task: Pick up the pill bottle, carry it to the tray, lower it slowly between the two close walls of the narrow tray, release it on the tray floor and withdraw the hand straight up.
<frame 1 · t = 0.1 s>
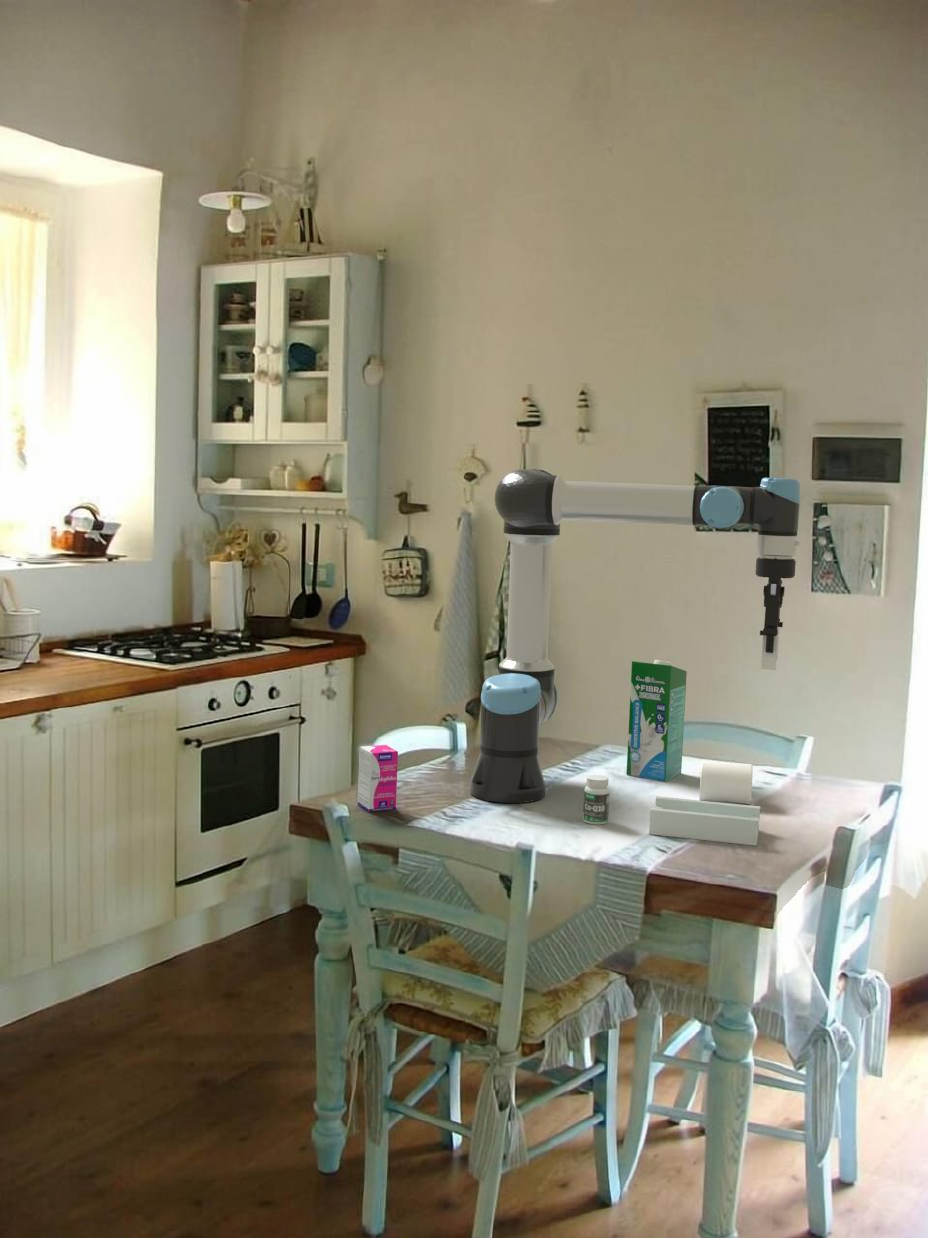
hand: (769, 664, 245), 28 cm above the table, fingers open, 13 cm apart
supplement box: (376, 808, 235), on the table
pill bottle: (595, 822, 230), on the table
mug: (724, 800, 250), on the table
milk carton: (653, 775, 268), on the table
tray: (704, 832, 226), on the table
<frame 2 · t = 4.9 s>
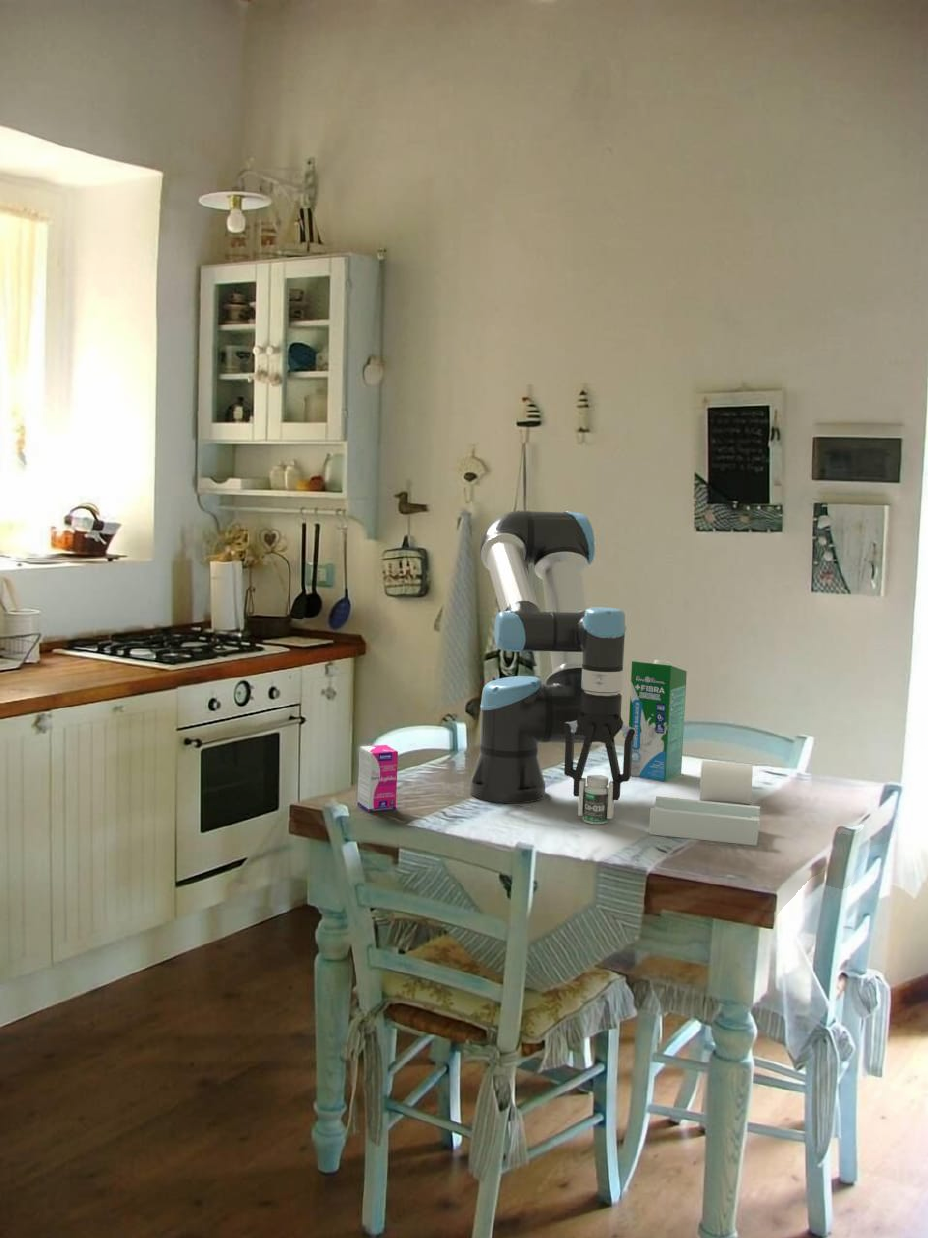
hand: (595, 814, 230), 1 cm above the table, fingers closed on pill bottle, 5 cm apart
pill bottle: (595, 822, 230), on the table, touching gripper
everything else where it was.
when the fingers open (4 cm above the table, at t = 9.4 s): pill bottle drops 2 cm, resting on tray.
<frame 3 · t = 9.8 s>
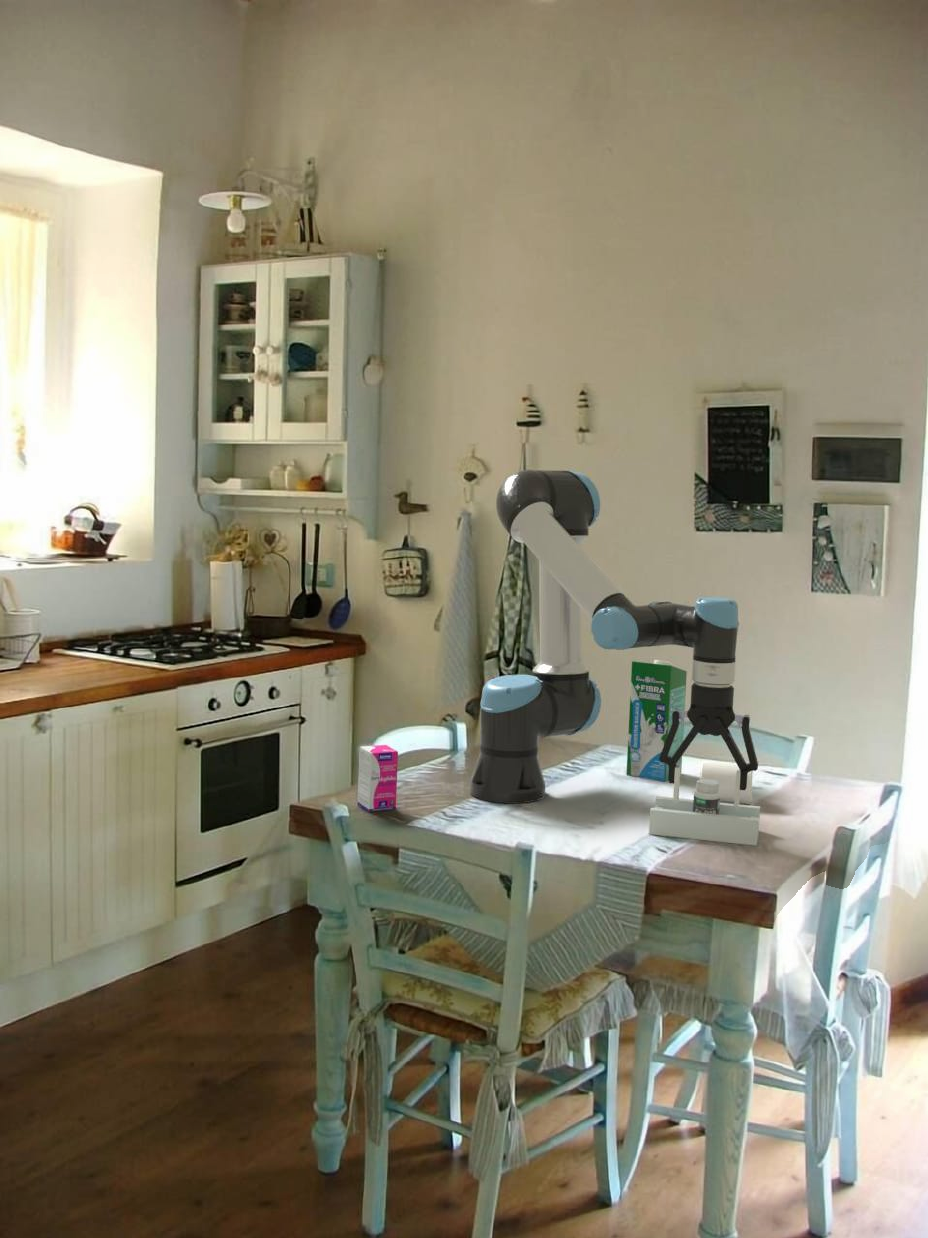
hand: (706, 804, 225), 5 cm above the table, fingers open, 10 cm apart
pill bottle: (705, 828, 225), point 1 cm above the table, touching tray
everything else where it was.
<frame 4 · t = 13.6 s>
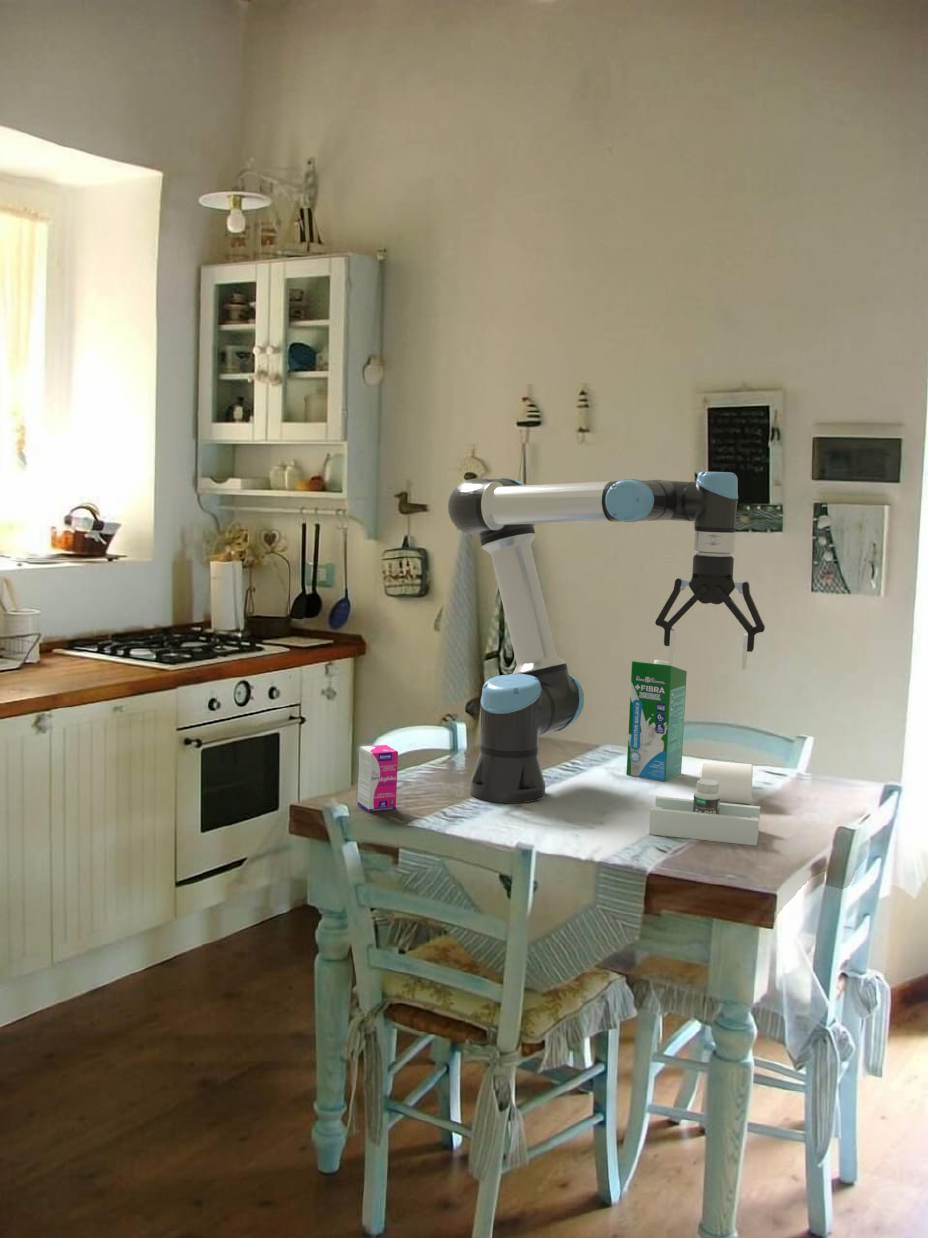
hand: (707, 666, 235), 29 cm above the table, fingers open, 13 cm apart
nothing on the table moved.
at the end: pill bottle inside the target area on the tray (0.1 cm from its centre), point 0.8 cm above the tray's base; pill bottle tilted 0°; the gripper is holding nothing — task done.
